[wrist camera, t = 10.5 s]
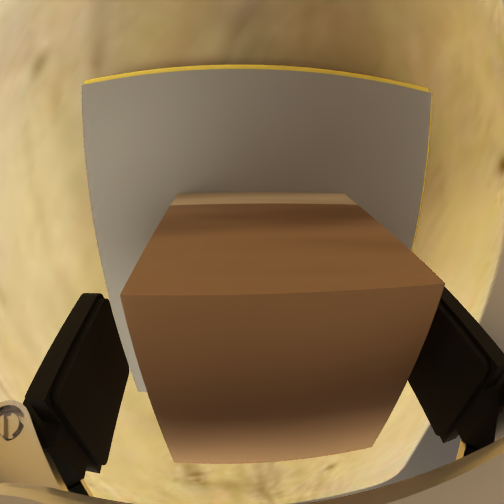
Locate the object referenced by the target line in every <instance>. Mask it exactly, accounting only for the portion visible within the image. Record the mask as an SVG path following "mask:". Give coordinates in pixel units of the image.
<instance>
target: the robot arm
mask: <svg viewBox="0 0 504 504" xmlns="http://www.w3.org/2000/svg"><path fill="white" fill-rule="evenodd" d="M128 375H129V365H128V361H127V358H126V355H125V352H124V349H123V346H122V343H121V340H120V337H119V333H118V330H117V327H116V323H115V320H114V316H113V313H112V309H111V305H110V302H109V300H108V299H104V297H103V295H102V294H100V293H83V294H82V295H81V296H80V298H79V300H78V301H77V303H76V304H75V306H74V308H73V309H72V311H71V313H70V314H69V316H68V317H67V319H66V321H65V323H64V324H63V326H62V328H61V329H60V331H59V333H58V335H57V336H56V338H55V340H54V342H53V343H52V345H51V347H50V349H49V351H48V352H47V354H46V356H45V358H44V360H43V362H42V364H41V365H40V367H39V369H38V371H37V373H36V375H35V377H34V379H33V381H32V383H31V385H30V387H29V389H28V391H27V393H26V395H25V400H24V402H23V404H22V403H20V402H17V401H10V400H8V401H4V402H1V403H0V504H131V503H124V502H118V501H112V500H106V499H101V498H96V497H94V496H93V495H92V493H91V492H90V490H89V488H88V486H87V485H86V483H85V481H84V480H83V479H84V476H85V472H86V471H91V472H95V473H100V470H101V466H102V465H105V464H106V463H107V461H108V456H109V452H110V447H111V443H112V438H113V434H114V430H115V426H116V421H117V417H118V413H119V409H120V405H121V402H122V398H123V394H124V390H125V386H126V383H127V379H128ZM408 381H409V383H410V385H411V387H412V389H413V391H414V393H415V395H416V397H417V398H418V400H419V402H420V404H421V406H422V408H423V410H424V412H425V414H426V416H427V418H428V420H429V422H430V424H431V426H432V428H433V430H434V432H435V434H436V435H438V436H440V437H441V439H442V442H443V443H445V442H447V441H450V440H452V439H455V438H456V437H457V436H458V435H459V436H460V438H461V442H460V446H459V450H458V454H457V458H456V461H454V462H451V463H449V464H446V465H444V466H442V467H439V468H437V469H434V470H432V471H429V472H427V473H424V474H421V475H418V476H415V477H412V478H409V479H406V480H403V481H400V482H398V483H394V484H391V485H387V486H384V487H380V488H377V489H373V490H369V491H366V492H361V493H357V494H353V495H348V496H344V497H339V498H335V499H329V500H323V501H318V502H311V503H305V504H504V353H503V352H502V351H501V350H500V348H499V347H498V346H497V345H496V343H495V342H494V341H493V340H492V339H491V338H490V336H489V335H488V334H487V333H486V332H485V331H484V329H483V328H482V327H481V326H480V325H479V323H478V322H477V321H476V320H475V319H474V318H473V317H472V316H471V314H470V313H469V312H468V311H467V310H466V309H465V308H464V307H463V306H462V304H461V303H460V302H459V301H458V300H457V299H456V298H455V297H454V296H453V295H452V294H451V293H450V292H449V291H448V290H447V289H446V287H445V286H444V289H443V292H442V295H441V298H440V301H439V304H438V307H437V310H436V312H435V315H434V318H433V321H432V323H431V326H430V329H429V331H428V334H427V336H426V339H425V341H424V344H423V346H422V349H421V351H420V354H419V356H418V358H417V360H416V363H415V365H414V367H413V370H412V372H411V374H410V376H409V378H408Z"/></svg>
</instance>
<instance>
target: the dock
mask: <svg viewBox="0 0 504 504" xmlns="http://www.w3.org/2000/svg"><path fill="white" fill-rule="evenodd" d="M82 114H83V134H84V148H85V159H86V169H87V178H88V187H89V194H90V202H91V209H92V215H93V221H94V227H95V233H96V239H97V244H98V249H99V254H100V259H101V264H102V269H103V273H104V278H105V282H106V286H107V290H108V294H109V298H110V302H111V306H112V310H113V314H114V317H115V321H116V325H117V328H118V332H119V335H120V338H121V342H122V345H123V348H124V351H125V355H126V358H127V361H128V364H129V367H130V370H131V373H132V376H133V378H134V381H135V384H136V387H137V390H138V391H140V392H147V390H146V387H145V384H144V381H143V378H142V375H141V371H140V368H139V365H138V362H137V358H136V355H135V352H134V348H133V345H132V341H131V337H130V334H129V330H128V326H127V322H126V318H125V314H124V310H123V306H122V302H121V298H120V294H121V292H122V290H123V288H124V286H125V284H126V282H127V280H128V278H129V277H130V275H131V273H132V271H133V269H134V267H135V265H136V264H137V262H138V260H139V258H140V256H141V255H142V253H143V251H144V249H145V247H146V246H147V244H148V242H149V240H150V239H151V237H152V235H153V233H154V232H155V230H156V228H157V227H158V225H159V223H160V221H161V220H162V218H163V216H164V215H165V213H166V211H167V210H168V208H169V206H170V205H171V203H172V202H173V200H174V198H175V197H176V195H177V194H190V193H232V192H298V193H340V194H345V195H347V196H348V197H349V198H350V199H351V200H353V201H354V202H355V203H356V204H358V205H359V206H360V207H361V208H362V209H364V210H365V211H366V212H367V213H368V214H370V215H371V216H372V217H373V218H374V219H375V220H377V221H378V222H379V223H380V224H381V225H382V226H384V227H385V228H386V229H387V230H388V231H389V232H391V233H392V234H393V235H394V236H395V237H396V238H397V239H398V240H400V241H401V242H402V243H403V244H404V245H405V246H406V247H407V248H408V249H409V250H411V251H413V247H414V242H415V237H416V232H417V227H418V222H419V216H420V211H421V205H422V198H423V192H424V185H425V178H426V170H427V162H428V153H429V142H430V130H431V115H432V94H431V93H429V89H428V88H424V87H420V86H416V85H412V84H408V83H404V82H399V81H394V80H390V79H385V78H379V77H374V76H368V75H362V74H356V73H350V72H342V71H335V70H327V69H317V68H307V67H294V66H278V65H201V66H184V67H172V68H161V69H152V70H144V71H137V72H130V73H123V74H117V75H111V76H105V77H100V78H95V79H90V80H85V81H84V85H82Z"/></svg>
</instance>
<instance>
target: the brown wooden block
mask: <svg viewBox="0 0 504 504" xmlns="http://www.w3.org/2000/svg"><path fill="white" fill-rule="evenodd" d="M444 285H445V283H444V282H443V281H442V280H441V279H440V278H439V277H438V276H437V275H436V274H435V273H434V272H433V271H432V270H431V269H430V268H429V267H428V266H427V265H426V264H425V263H423V262H422V261H421V260H420V259H419V258H418V257H417V256H416V255H415V254H414V253H413V252H412V251H411V250H409V249H408V248H407V247H406V246H405V245H404V244H403V243H402V242H401V241H400V240H398V239H397V238H396V237H395V236H394V235H393V234H392V233H391V232H389V231H388V230H387V229H386V228H385V227H384V226H382V225H381V224H380V223H379V222H378V221H377V220H375V219H374V218H373V217H372V216H371V215H370V214H368V213H367V212H366V211H365V210H364V209H362V208H361V207H360V206H359V205H358V204H356V203H355V202H354V201H353V200H351V199H350V198H349V197H348V196H347V195H345V194H340V193H298V192H232V193H190V194H177V195H176V197H175V198H174V200H173V202H172V203H171V205H170V206H169V208H168V210H167V211H166V213H165V215H164V216H163V218H162V220H161V221H160V223H159V225H158V227H157V228H156V230H155V232H154V233H153V235H152V237H151V239H150V240H149V242H148V244H147V246H146V247H145V249H144V251H143V253H142V255H141V256H140V258H139V260H138V262H137V264H136V265H135V267H134V269H133V271H132V273H131V275H130V277H129V278H128V280H127V282H126V284H125V286H124V288H123V290H122V292H121V294H120V298H121V302H122V306H123V310H124V314H125V318H126V322H127V326H128V330H129V334H130V337H131V341H132V345H133V348H134V352H135V355H136V358H137V362H138V365H139V368H140V371H141V375H142V378H143V381H144V384H145V387H146V390H147V393H148V396H149V399H150V402H151V404H152V407H153V410H154V413H155V415H156V418H157V421H158V424H159V426H160V429H161V431H162V434H163V436H164V439H165V441H166V444H167V446H168V449H169V451H170V454H171V456H172V458H173V461H174V462H179V463H201V464H239V463H262V462H276V461H287V460H297V459H305V458H313V457H320V456H327V455H333V454H339V453H345V452H350V451H355V450H360V449H365V448H369V447H372V446H373V444H374V442H375V441H376V439H377V437H378V436H379V434H380V432H381V430H382V429H383V427H384V425H385V423H386V422H387V420H388V418H389V416H390V414H391V412H392V410H393V408H394V407H395V405H396V403H397V401H398V399H399V397H400V395H401V393H402V391H403V389H404V387H405V385H406V382H407V380H408V378H409V376H410V374H411V372H412V370H413V367H414V365H415V363H416V360H417V358H418V356H419V354H420V351H421V349H422V346H423V344H424V341H425V339H426V336H427V334H428V331H429V329H430V326H431V323H432V321H433V318H434V315H435V312H436V310H437V307H438V304H439V301H440V298H441V295H442V292H443V289H444Z"/></svg>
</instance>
